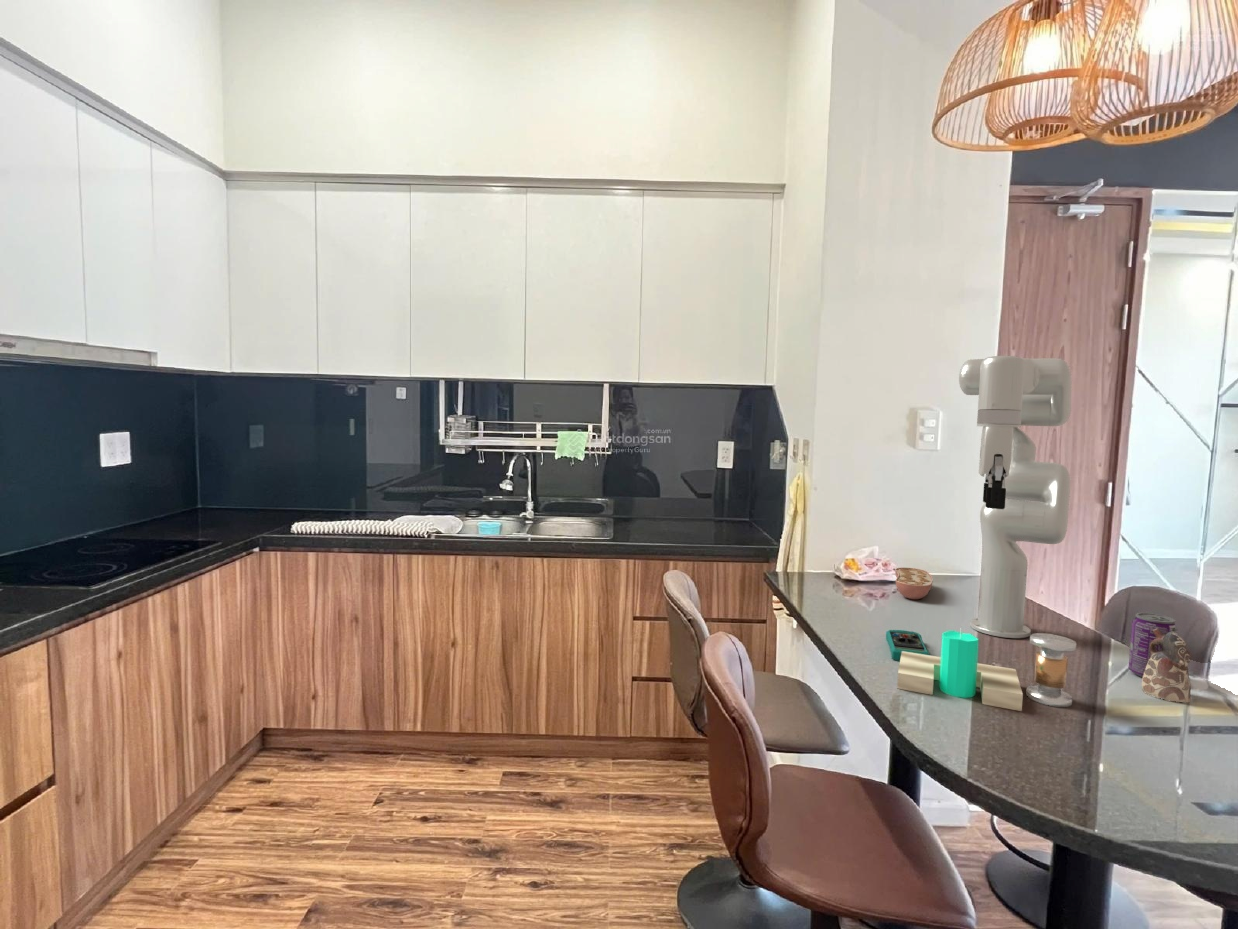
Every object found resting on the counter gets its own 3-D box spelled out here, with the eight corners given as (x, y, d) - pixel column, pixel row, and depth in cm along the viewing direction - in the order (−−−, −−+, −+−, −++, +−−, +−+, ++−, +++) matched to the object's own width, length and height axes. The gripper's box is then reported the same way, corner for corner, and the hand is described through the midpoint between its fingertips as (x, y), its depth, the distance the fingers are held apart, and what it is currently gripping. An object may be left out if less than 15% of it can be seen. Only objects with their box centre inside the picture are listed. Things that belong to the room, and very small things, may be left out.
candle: (973, 700, 119) (977, 635, 118) (937, 692, 123) (940, 629, 122) (976, 689, 124) (980, 626, 124) (941, 681, 128) (944, 620, 127)
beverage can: (1163, 672, 135) (1168, 614, 134) (1180, 685, 128) (1185, 624, 127) (1122, 667, 137) (1127, 610, 136) (1136, 680, 131) (1141, 620, 130)
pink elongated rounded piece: (894, 582, 206) (895, 566, 205) (929, 586, 202) (930, 569, 202) (894, 600, 185) (895, 583, 184) (934, 605, 181) (935, 587, 180)
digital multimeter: (920, 643, 151) (920, 631, 150) (930, 667, 136) (931, 653, 136) (885, 640, 153) (885, 627, 152) (891, 662, 139) (892, 648, 138)
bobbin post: (1024, 688, 126) (1028, 631, 125) (1068, 695, 122) (1072, 637, 122) (1028, 702, 119) (1032, 642, 118) (1075, 710, 116) (1079, 649, 115)
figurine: (1176, 705, 119) (1182, 640, 118) (1132, 690, 126) (1138, 628, 125) (1199, 699, 122) (1205, 635, 121) (1155, 684, 129) (1160, 623, 128)
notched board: (901, 665, 136) (901, 651, 136) (1014, 684, 127) (1015, 669, 127) (897, 688, 124) (897, 672, 124) (1021, 711, 115) (1022, 694, 115)
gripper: (975, 419, 141) (970, 499, 142) (979, 419, 125) (973, 509, 126) (1016, 420, 137) (1011, 502, 139) (1025, 419, 122) (1019, 512, 123)
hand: (993, 505), depth 133 cm, fingers open, 9 cm apart
